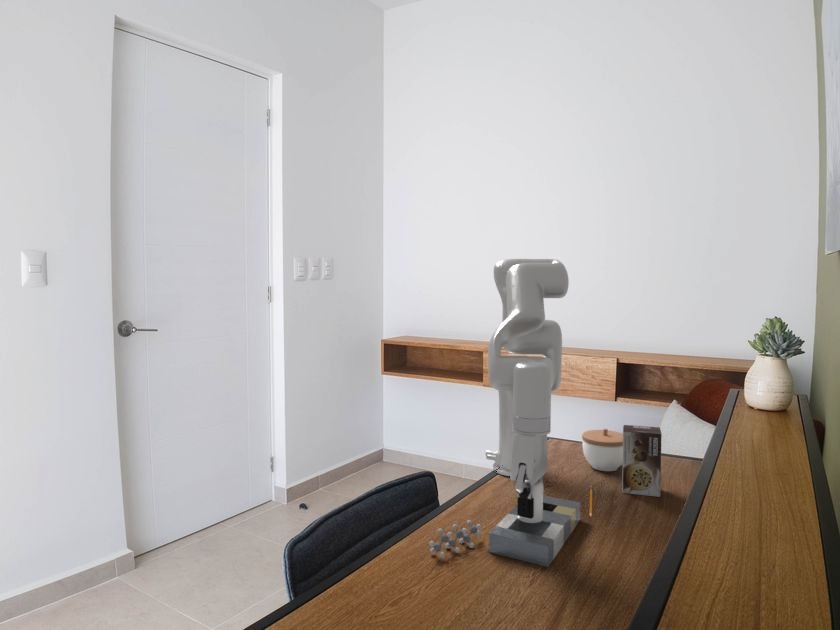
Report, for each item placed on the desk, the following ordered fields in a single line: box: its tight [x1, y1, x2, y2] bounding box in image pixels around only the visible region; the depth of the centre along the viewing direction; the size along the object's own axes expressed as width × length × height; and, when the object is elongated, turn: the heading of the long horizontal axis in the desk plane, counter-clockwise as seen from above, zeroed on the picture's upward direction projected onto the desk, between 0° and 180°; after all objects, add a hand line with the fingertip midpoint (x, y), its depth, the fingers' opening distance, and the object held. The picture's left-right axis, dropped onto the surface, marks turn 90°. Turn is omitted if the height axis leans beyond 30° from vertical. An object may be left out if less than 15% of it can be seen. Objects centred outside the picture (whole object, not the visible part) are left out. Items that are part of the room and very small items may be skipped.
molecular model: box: [428, 519, 482, 558], centre depth 117 cm, size 14×4×5 cm, turn 130°
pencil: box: [588, 485, 594, 518], centre depth 142 cm, size 19×1×1 cm, turn 163°
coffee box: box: [621, 424, 663, 498], centre depth 148 cm, size 9×6×16 cm
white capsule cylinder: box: [518, 479, 544, 523], centre depth 119 cm, size 5×5×7 cm
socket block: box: [488, 494, 581, 568], centre depth 124 cm, size 12×24×4 cm, turn 151°
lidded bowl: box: [581, 428, 623, 472], centre depth 166 cm, size 13×13×11 cm
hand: (530, 510), depth 119 cm, fingers closed on white capsule cylinder, 5 cm apart
